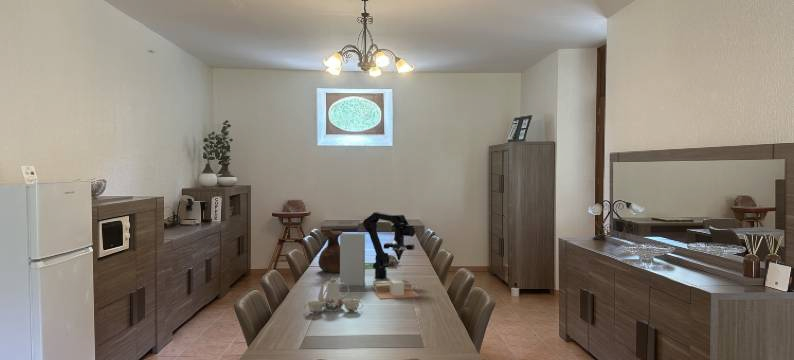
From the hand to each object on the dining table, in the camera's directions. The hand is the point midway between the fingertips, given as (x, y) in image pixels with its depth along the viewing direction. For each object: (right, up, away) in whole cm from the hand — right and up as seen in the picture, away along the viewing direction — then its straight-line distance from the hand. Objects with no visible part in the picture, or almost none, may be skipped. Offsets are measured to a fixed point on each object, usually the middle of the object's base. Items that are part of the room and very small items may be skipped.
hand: (399, 260), depth 312 cm
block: (-2, -10, -28) cm, 30 cm away
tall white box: (-28, -13, -7) cm, 32 cm away
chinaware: (-33, -15, -64) cm, 73 cm away
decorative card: (-14, -12, +47) cm, 51 cm away
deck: (-4, -14, -21) cm, 25 cm away
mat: (-1, -14, -33) cm, 36 cm away
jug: (-44, -12, +29) cm, 54 cm away
